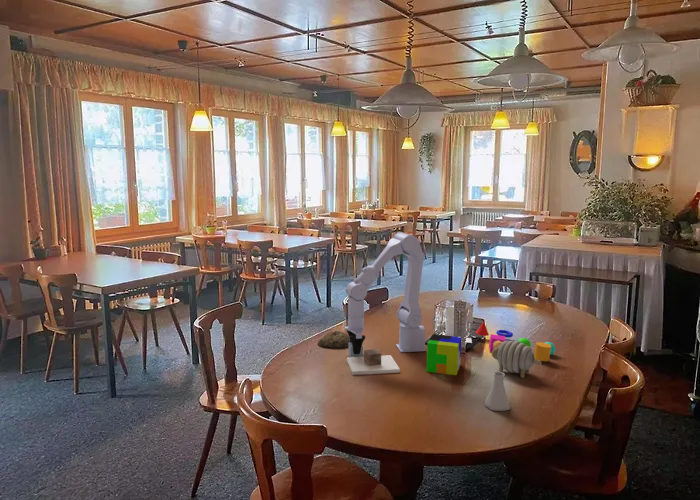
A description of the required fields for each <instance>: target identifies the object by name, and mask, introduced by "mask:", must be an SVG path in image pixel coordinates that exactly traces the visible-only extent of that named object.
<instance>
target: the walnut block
mask: <svg viewBox="0 0 700 500" xmlns="http://www.w3.org/2000/svg"><path fill="white" fill-rule="evenodd" d="M363 350H364V349H363ZM381 356H382V352H380V350H378V349H377V348H374V349H373V348H371V349H365V350H364V351H363V357H364V362H365V363H366V364H367V365H368V366H374V365H381Z"/></svg>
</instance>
